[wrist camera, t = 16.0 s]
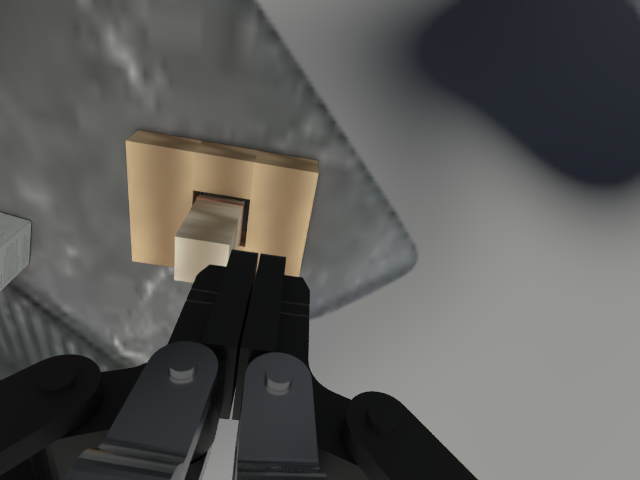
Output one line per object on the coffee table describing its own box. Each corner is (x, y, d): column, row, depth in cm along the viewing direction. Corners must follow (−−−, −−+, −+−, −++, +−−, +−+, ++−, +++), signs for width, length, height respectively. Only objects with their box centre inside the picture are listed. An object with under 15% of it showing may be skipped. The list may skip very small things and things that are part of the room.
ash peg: (203, 220, 41) (173, 280, 33) (205, 182, 39) (174, 235, 31) (245, 226, 42) (226, 287, 33) (249, 189, 40) (230, 244, 31)
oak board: (143, 244, 43) (132, 261, 40) (139, 129, 37) (125, 140, 34) (298, 267, 44) (297, 284, 42) (318, 160, 38) (318, 173, 36)
